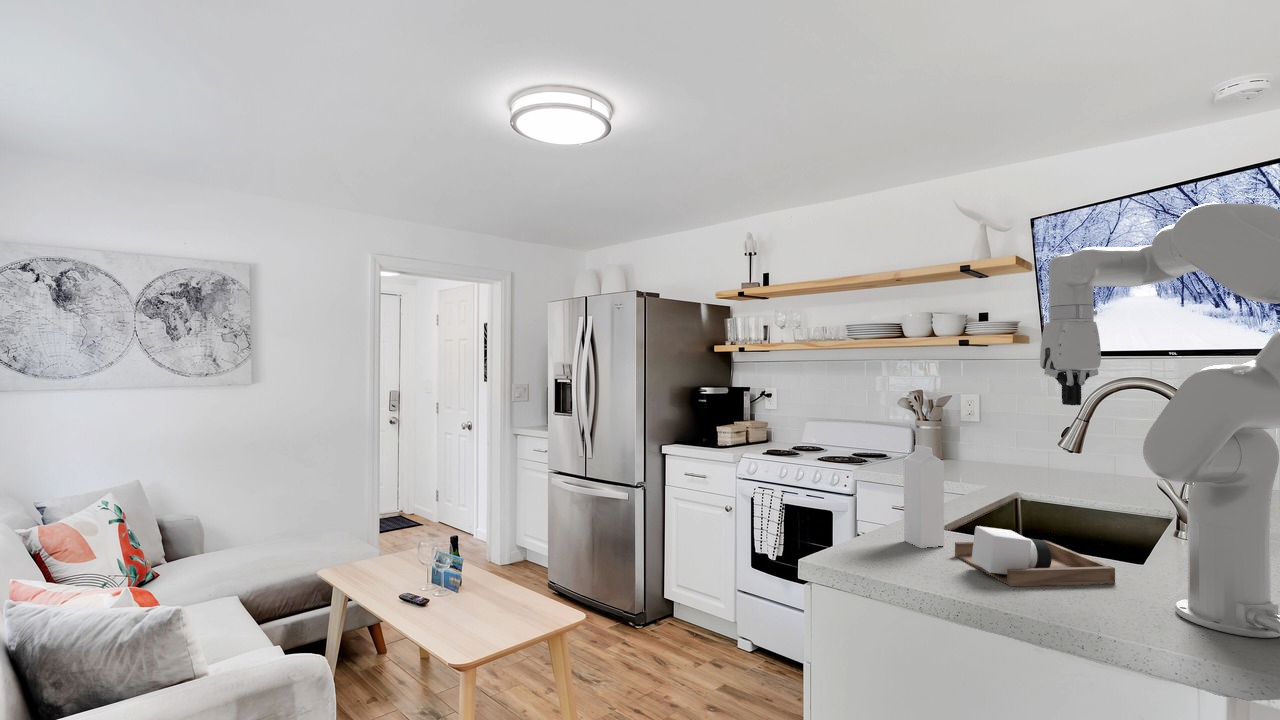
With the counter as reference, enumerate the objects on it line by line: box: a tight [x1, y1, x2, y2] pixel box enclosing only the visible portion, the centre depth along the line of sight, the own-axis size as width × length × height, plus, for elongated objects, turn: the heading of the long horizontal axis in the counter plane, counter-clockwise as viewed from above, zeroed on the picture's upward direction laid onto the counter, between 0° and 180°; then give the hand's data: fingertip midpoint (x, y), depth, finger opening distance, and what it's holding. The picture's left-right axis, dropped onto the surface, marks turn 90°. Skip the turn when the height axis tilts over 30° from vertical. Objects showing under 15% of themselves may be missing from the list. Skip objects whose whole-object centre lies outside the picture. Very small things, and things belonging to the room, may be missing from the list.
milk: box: [903, 444, 945, 549], centre depth 141 cm, size 6×6×22 cm
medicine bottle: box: [971, 525, 1052, 575], centre depth 120 cm, size 7×7×12 cm
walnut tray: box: [954, 539, 1116, 587], centre depth 123 cm, size 18×20×3 cm
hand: (1071, 404), depth 128 cm, fingers closed
